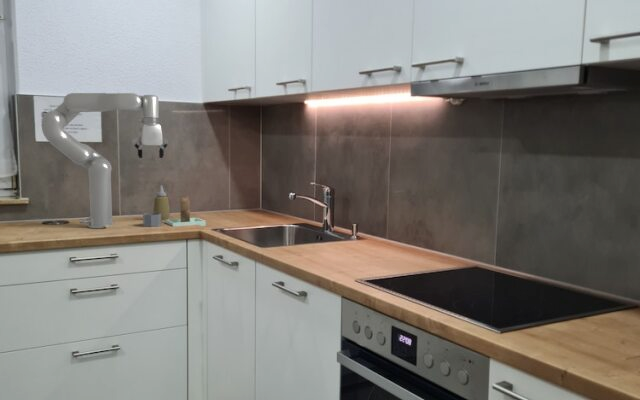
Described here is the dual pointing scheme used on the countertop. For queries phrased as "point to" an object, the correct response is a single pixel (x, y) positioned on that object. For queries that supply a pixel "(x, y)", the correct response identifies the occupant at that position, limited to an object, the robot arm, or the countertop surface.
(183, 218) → the walnut pin
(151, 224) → the grey block
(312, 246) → the countertop surface
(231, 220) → the countertop surface
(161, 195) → the squeeze bottle
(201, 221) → the pale green tray
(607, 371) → the countertop surface
